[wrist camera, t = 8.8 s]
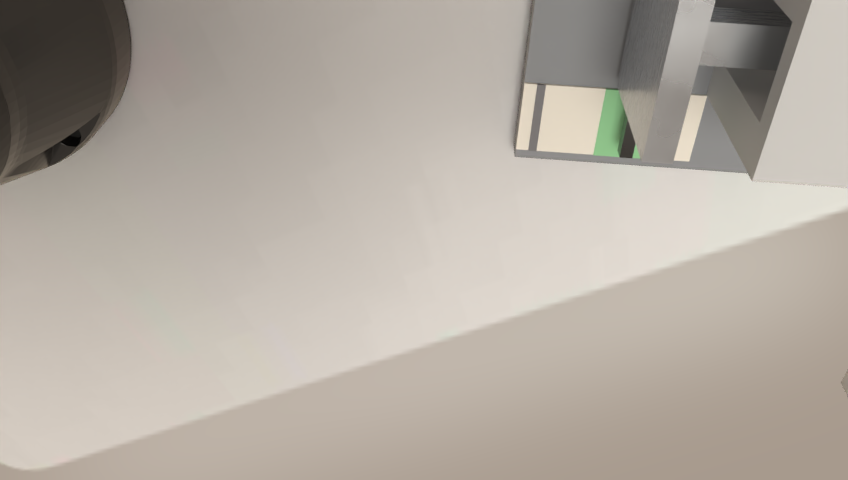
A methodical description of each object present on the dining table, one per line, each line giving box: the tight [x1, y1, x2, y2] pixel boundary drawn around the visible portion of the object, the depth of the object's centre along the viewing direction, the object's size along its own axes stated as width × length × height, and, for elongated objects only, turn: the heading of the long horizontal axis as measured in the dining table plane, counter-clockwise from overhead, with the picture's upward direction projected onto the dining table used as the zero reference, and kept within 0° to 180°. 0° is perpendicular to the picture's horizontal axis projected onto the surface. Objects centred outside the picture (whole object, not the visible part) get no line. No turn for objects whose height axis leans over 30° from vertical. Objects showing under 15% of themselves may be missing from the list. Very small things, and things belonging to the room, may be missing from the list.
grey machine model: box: [617, 0, 792, 164], centre depth 33 cm, size 11×10×7 cm
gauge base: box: [514, 0, 848, 188], centre depth 33 cm, size 14×14×9 cm
